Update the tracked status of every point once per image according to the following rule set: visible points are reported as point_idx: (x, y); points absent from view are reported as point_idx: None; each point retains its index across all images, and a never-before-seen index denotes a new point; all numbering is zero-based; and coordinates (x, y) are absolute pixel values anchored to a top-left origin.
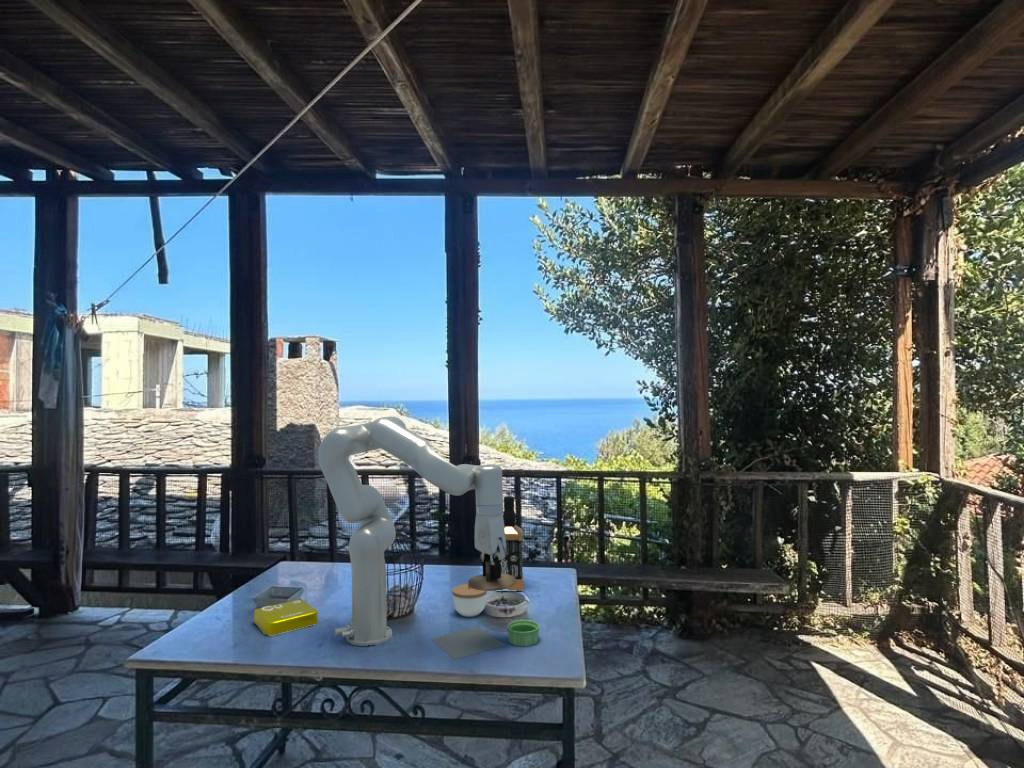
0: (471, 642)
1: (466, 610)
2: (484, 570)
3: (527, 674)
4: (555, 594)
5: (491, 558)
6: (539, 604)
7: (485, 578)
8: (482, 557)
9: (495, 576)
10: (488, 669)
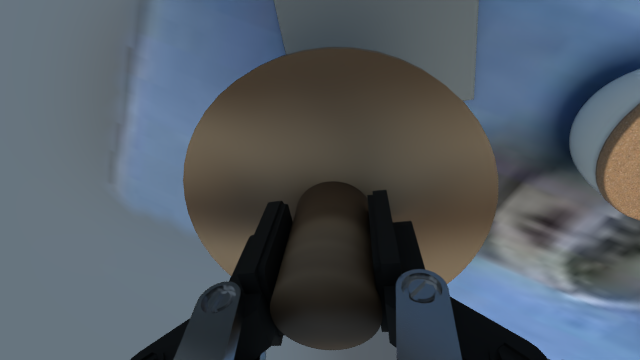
0: (364, 33)
1: (596, 96)
2: (370, 219)
3: (132, 112)
4: (549, 350)
5: (202, 343)
6: (518, 302)
7: (391, 194)
8: (423, 304)
9: (252, 237)
10: (173, 23)
